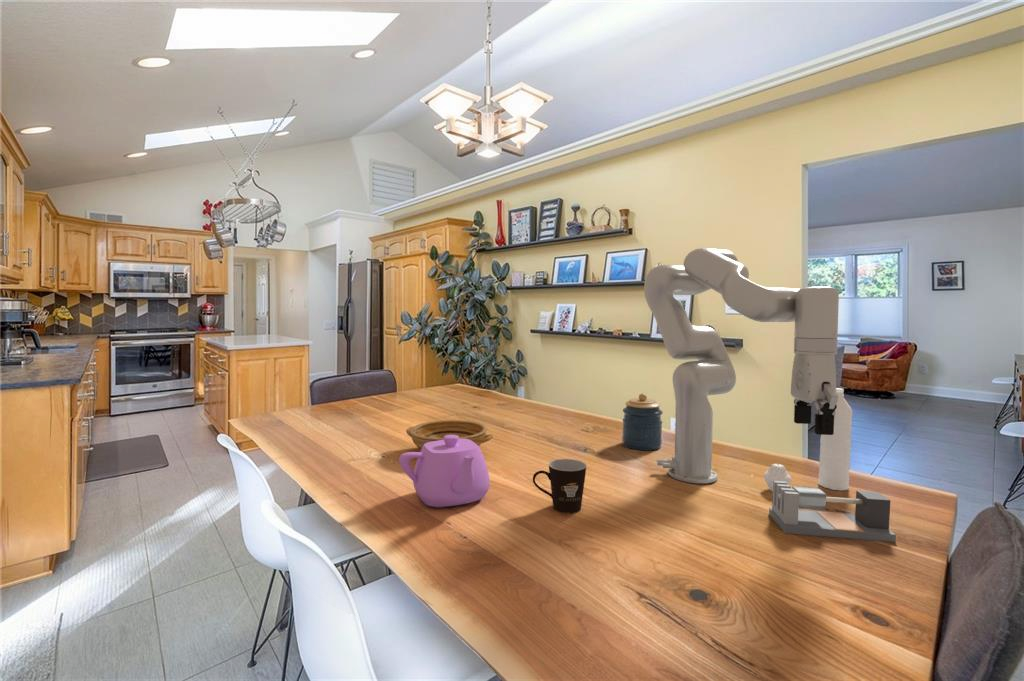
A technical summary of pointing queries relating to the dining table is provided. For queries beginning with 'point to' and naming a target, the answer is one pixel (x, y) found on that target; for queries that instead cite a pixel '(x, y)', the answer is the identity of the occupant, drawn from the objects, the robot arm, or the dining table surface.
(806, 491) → the sleeve
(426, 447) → the teapot
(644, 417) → the canister
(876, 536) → the board
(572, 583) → the dining table surface
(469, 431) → the ceramic bowl
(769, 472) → the white rounded ridged piece
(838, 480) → the water bottle
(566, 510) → the coffee mug
